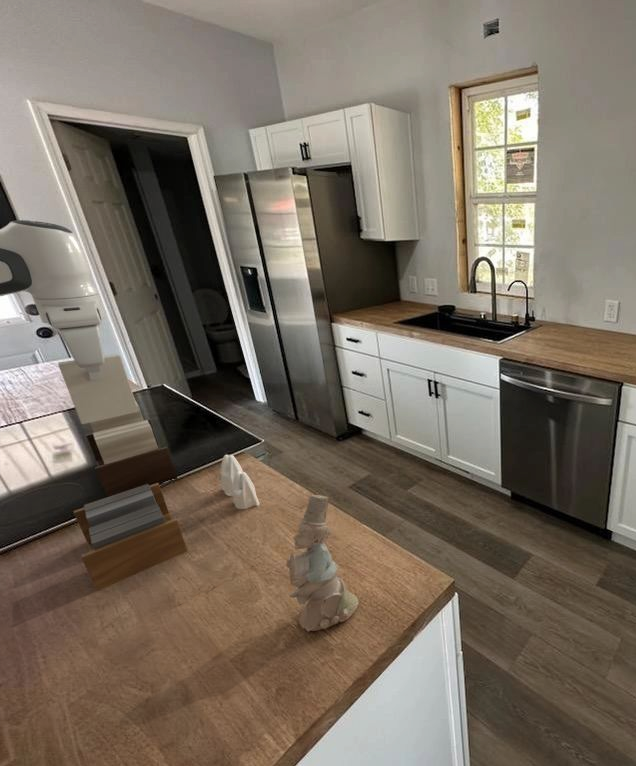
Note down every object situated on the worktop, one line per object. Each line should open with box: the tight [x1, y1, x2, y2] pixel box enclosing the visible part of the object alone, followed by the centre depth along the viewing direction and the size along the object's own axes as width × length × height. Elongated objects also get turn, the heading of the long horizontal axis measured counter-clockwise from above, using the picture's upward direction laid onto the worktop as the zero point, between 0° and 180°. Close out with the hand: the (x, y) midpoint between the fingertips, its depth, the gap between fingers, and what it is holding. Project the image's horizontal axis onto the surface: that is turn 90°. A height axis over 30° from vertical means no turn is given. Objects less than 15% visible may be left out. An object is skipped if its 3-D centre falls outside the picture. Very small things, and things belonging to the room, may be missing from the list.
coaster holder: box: [73, 483, 188, 592], centre depth 74 cm, size 16×12×10 cm
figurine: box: [285, 494, 359, 632], centre depth 62 cm, size 9×8×20 cm
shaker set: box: [220, 454, 260, 510], centre depth 88 cm, size 12×4×11 cm, turn 49°
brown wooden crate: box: [85, 400, 178, 498], centre depth 97 cm, size 21×12×14 cm, turn 48°
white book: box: [57, 353, 139, 425], centre depth 86 cm, size 2×9×13 cm, turn 137°
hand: (95, 376), depth 85 cm, fingers closed on white book, 2 cm apart
